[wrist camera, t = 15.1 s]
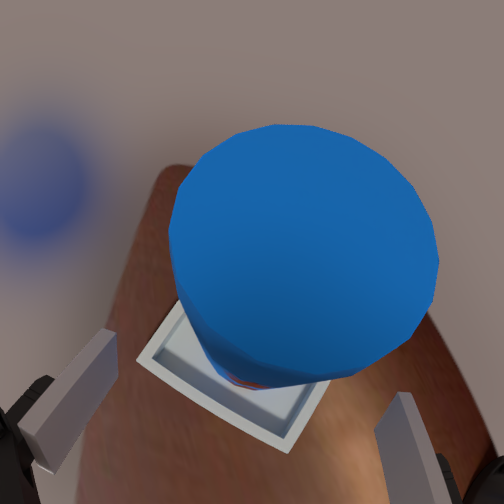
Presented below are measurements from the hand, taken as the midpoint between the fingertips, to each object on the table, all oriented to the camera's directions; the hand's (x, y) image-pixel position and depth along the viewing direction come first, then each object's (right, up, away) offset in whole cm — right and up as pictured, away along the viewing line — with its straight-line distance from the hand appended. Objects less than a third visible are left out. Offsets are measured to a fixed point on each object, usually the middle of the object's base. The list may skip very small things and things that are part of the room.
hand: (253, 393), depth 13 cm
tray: (0, -4, +22) cm, 22 cm away
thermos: (0, -4, +21) cm, 21 cm away
